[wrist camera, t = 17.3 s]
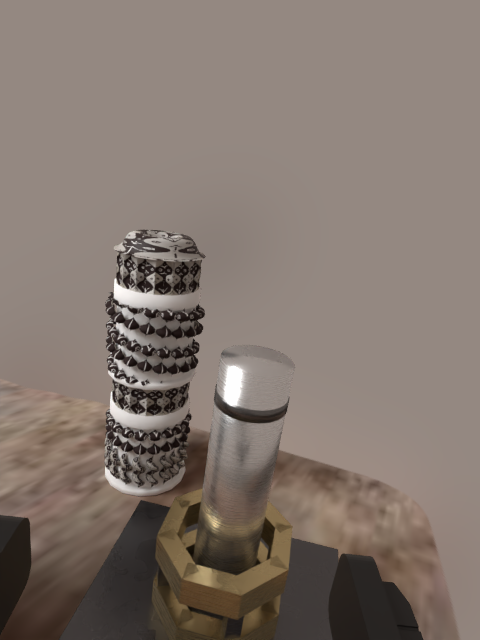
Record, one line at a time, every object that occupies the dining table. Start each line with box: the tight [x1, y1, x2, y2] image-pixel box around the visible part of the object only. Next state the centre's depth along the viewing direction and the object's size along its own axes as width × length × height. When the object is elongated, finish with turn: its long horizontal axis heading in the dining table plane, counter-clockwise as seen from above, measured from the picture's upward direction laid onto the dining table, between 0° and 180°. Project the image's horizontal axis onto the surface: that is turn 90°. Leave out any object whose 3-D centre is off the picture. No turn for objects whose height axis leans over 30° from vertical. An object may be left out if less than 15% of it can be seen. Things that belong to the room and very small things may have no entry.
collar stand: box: [59, 488, 338, 640], centre depth 30 cm, size 18×14×8 cm
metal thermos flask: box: [191, 345, 295, 620], centre depth 28 cm, size 4×4×19 cm
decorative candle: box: [105, 230, 205, 497], centre depth 41 cm, size 9×9×25 cm
